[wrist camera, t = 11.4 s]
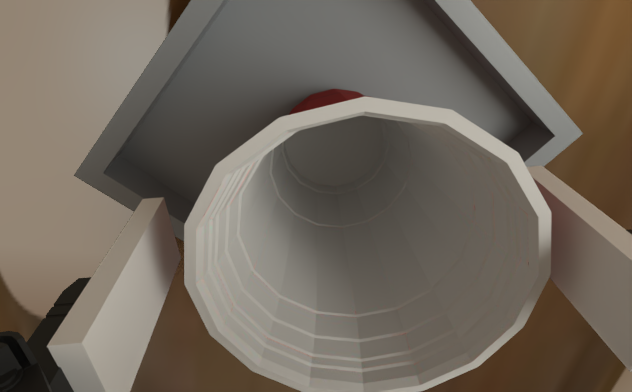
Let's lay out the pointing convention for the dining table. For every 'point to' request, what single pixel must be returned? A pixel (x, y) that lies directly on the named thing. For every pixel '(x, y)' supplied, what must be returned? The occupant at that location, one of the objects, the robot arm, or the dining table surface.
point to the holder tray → (309, 86)
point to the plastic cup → (367, 246)
